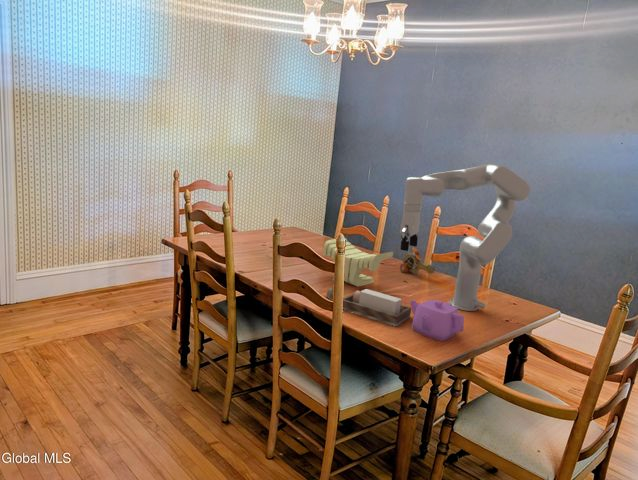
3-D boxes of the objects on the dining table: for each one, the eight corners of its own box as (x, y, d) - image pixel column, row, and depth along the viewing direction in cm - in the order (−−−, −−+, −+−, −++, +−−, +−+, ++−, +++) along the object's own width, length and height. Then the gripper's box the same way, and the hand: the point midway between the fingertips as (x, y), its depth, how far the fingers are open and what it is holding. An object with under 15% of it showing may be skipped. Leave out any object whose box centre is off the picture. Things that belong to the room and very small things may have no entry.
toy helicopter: (407, 269, 266) (411, 245, 263) (437, 280, 250) (441, 254, 247) (397, 270, 261) (400, 246, 258) (427, 282, 245) (431, 256, 242)
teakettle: (463, 343, 174) (469, 311, 171) (418, 340, 172) (423, 308, 170) (448, 324, 190) (452, 295, 188) (406, 322, 189) (410, 292, 186)
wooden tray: (409, 316, 194) (411, 307, 193) (395, 326, 183) (396, 316, 182) (356, 300, 207) (357, 291, 206) (339, 308, 196) (340, 299, 195)
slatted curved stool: (320, 275, 238) (324, 240, 235) (341, 270, 250) (344, 237, 246) (368, 292, 219) (373, 255, 215) (388, 286, 231) (393, 251, 227)
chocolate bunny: (329, 301, 203) (332, 279, 201) (324, 295, 210) (326, 273, 208) (342, 301, 205) (344, 279, 202) (336, 295, 212) (339, 273, 210)
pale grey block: (399, 315, 192) (401, 299, 190) (393, 318, 188) (396, 302, 186) (358, 302, 202) (359, 286, 200) (352, 305, 198) (353, 289, 196)
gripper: (411, 204, 206) (408, 243, 210) (395, 208, 191) (392, 250, 195) (428, 206, 202) (424, 245, 206) (413, 211, 188) (409, 253, 192)
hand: (408, 248), depth 201 cm, fingers open, 9 cm apart
